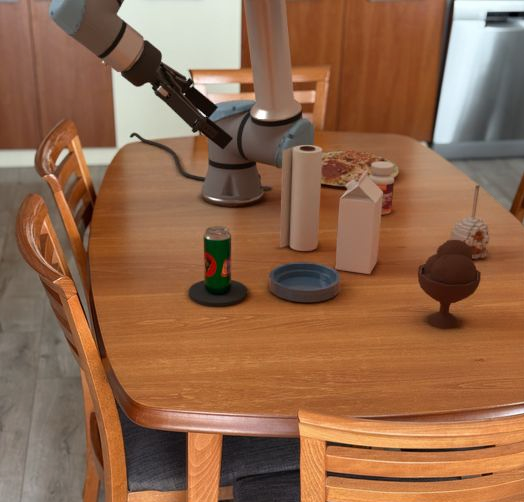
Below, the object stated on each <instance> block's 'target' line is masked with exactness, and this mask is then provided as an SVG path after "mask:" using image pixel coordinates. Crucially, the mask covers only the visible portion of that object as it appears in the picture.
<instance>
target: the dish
mask: <svg viewBox="0 0 524 502" xmlns="http://www.w3.org/2000/svg"><path fill="white" fill-rule="evenodd" d="M270 270H271V271H270V272H269V274H268V277H269V278H268V287H269V290H270V292H271V293H273V295H275V296H276V297H279V298H280V299H283V300H287V301H291V302H297V303H298V302H299V303H318V302H323V301H326V300H327V301H328V300H330V299H332V298H334V297H335V296H336V295H338V294H339V292H340V289H341V279H342V278H341V275H340V272H338V270H337V269H335V268H333V267H330V266H328V265H325V264H322V263H317V262H309V261H295V262H288V263H283V264H280V265H278V266H275V267H274V268H273V269H270Z"/></svg>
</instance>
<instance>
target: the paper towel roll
mask: <svg viewBox="0 0 524 502" xmlns="http://www.w3.org/2000/svg"><path fill="white" fill-rule="evenodd" d="M322 153H323V148H322V147H320V146H317V145H313V146H312V145H300V146H295V147H291V148H289V149H286V150H283V159H282V168H281V196H280V197H281V198H280V228H279V229H280V235H279V248H284V247H286V246H288V245H289V248H290V249H292V250H294V251H298V252H300V251H301V252H311V251H315V250H316V249H317V248H318V246H319V230H320V229H319V227H320V205H321V190H322V189H321V188H322V187H321V186H322V184H321V170H322Z"/></svg>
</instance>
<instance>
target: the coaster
mask: <svg viewBox="0 0 524 502" xmlns="http://www.w3.org/2000/svg"><path fill="white" fill-rule="evenodd" d="M188 297H189V299H190V300H192V301H193V302H194V303H196V304H199V305H202V306H205V307H214V308H221V307H223V308H224V307H230V306H234V305H237V304H241V303H242V302H244V301H245V300H246V299H247V297H248V288H247V287H246V285H245V284H244V283H242V282H239V281H237V280H234V279H231V289H230V291H229V292H228V293H226V294H222V295H214V294H210V293H208V292H207V291H206V290H205V288H204V279H203V280H200V281H197V282H195V283H193V284H192V285H191V286H190V287H189V288H188Z"/></svg>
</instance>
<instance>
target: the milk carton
mask: <svg viewBox="0 0 524 502" xmlns="http://www.w3.org/2000/svg"><path fill="white" fill-rule="evenodd" d="M367 174H368V170H367V171H366V172H365V173H364V174H363V175H362V177H361V178H360V179H359V181H358V182H356V181H355V179H353V180H351V181H350V182H348V183H347V184H346V185H345V186H344V187H345V188H346V189H347V190H345V192H344V193H343V194H342V196H341V197H339V204H338V219H337V220H338V222H337V236H336V251H335V268H334V270H336V271H343V272H345V271H346V272H352V273H358V274H366V275H370V274H371V273H372V272H373V269H374V268H375V266H376V264H377V263H378V255H379V243H380V232H381V219H382V215H381V210H382V199H383V192H382V190H381V189H380V188H379V187H378V186H377V185H376V184H375V183H374V182H373V181H372V180H371V179H370V178H369V177H368V176H367Z"/></svg>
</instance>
